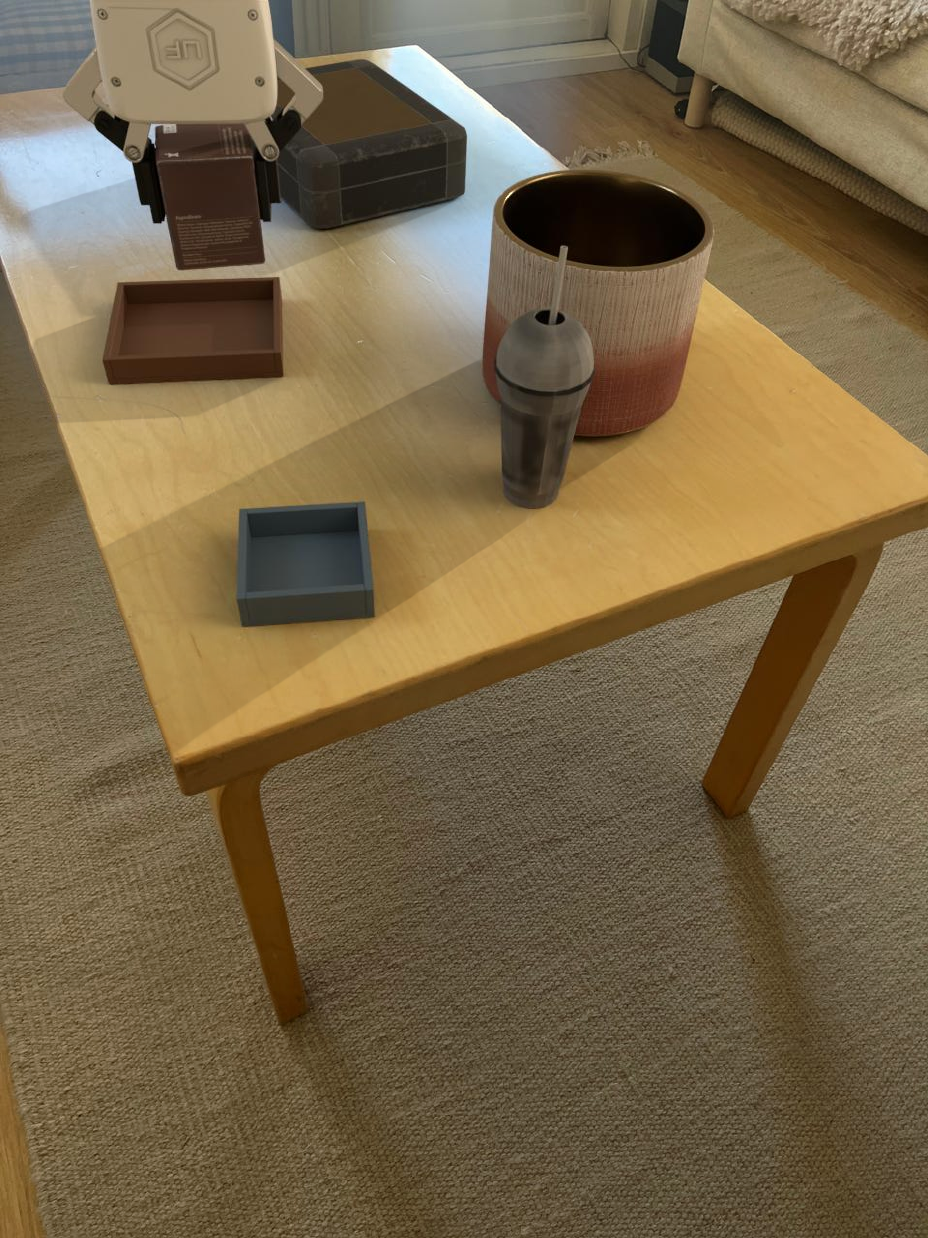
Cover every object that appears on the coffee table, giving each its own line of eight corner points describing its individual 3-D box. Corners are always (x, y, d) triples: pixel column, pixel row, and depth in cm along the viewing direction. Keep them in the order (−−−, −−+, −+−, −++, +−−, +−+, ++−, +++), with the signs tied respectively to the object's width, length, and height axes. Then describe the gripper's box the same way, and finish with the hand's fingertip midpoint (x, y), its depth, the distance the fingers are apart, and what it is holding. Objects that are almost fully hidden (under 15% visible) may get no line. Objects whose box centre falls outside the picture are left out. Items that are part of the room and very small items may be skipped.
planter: (697, 358, 93) (737, 192, 82) (649, 467, 82) (688, 293, 70) (520, 315, 97) (534, 151, 86) (450, 413, 86) (456, 239, 74)
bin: (241, 626, 69) (236, 599, 66) (243, 536, 75) (238, 508, 73) (375, 617, 70) (373, 589, 68) (366, 528, 76) (364, 501, 74)
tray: (108, 384, 87) (102, 359, 85) (123, 305, 96) (117, 281, 94) (283, 376, 89) (280, 352, 87) (282, 300, 98) (279, 276, 96)
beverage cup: (469, 500, 78) (482, 263, 64) (509, 450, 83) (530, 218, 68) (553, 531, 76) (586, 293, 61) (589, 479, 81) (629, 245, 66)
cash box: (221, 148, 121) (212, 80, 115) (370, 119, 128) (367, 54, 122) (309, 236, 107) (303, 164, 101) (470, 198, 114) (473, 128, 108)
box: (266, 267, 67) (254, 156, 62) (175, 273, 66) (154, 161, 61) (260, 225, 71) (247, 118, 66) (173, 230, 70) (153, 122, 65)
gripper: (-17, -97, 50) (72, 242, 63) (327, -91, 52) (344, 237, 65) (11, -131, 55) (88, 190, 68) (324, -124, 57) (341, 187, 70)
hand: (213, 211), depth 67 cm, fingers closed on box, 6 cm apart
